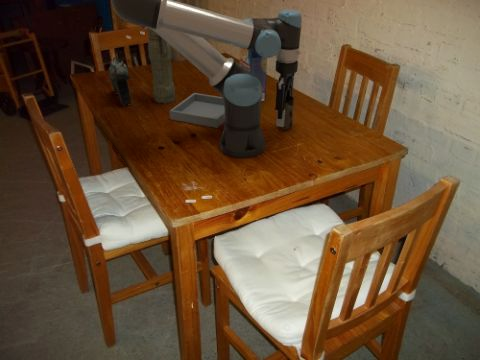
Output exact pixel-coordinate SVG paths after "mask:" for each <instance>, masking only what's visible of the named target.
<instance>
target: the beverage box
mask: <svg viewBox="0 0 480 360" xmlns="http://www.w3.org/2000/svg"><path fill="white" fill-rule="evenodd" d="M267 63H268V58H264V57H262V56H260V55H259V54H258V53H257V52H254V51H250V50H247V49H243V48H239V65H242V66H244V67H245V68H246V69H248V70H249V72H250V73H251V75H252V77H256V78H257V79H258V80H259V81H260V83H261V88H262V96H261V102H263V101H264V102H265V101H266V94H267V93H266V92H267V91H266V90H267V69H268V68H267V67H268V65H267Z"/></svg>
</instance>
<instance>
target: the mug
mask: <svg viewBox="0 0 480 360" xmlns="http://www.w3.org/2000/svg"><path fill="white" fill-rule="evenodd" d="M294 106H295V99H294V96H293V95H292V96H287V95H286V101H285V107H284V110H285V119H284V127H279V126H276V127H277V129H279V130H285V131H286V130H290V129H292V128H293V122H294V109H295V107H294Z"/></svg>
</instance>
